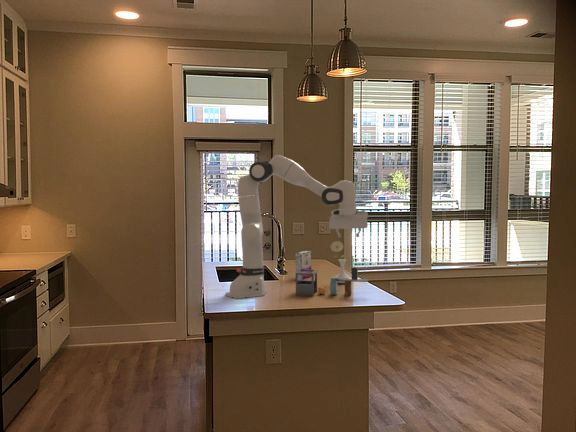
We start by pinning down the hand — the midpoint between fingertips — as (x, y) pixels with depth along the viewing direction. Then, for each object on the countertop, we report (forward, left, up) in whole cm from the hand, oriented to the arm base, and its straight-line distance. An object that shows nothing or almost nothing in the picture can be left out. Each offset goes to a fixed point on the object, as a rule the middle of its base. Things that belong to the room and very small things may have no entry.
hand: (348, 237), depth 265 cm
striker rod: (-1, -2, -30) cm, 30 cm away
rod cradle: (-2, -1, -31) cm, 31 cm away
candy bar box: (+13, +54, -31) cm, 63 cm away
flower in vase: (+19, +26, -31) cm, 44 cm away
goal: (-16, +16, -31) cm, 38 cm away
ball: (-11, +9, -29) cm, 32 cm away
